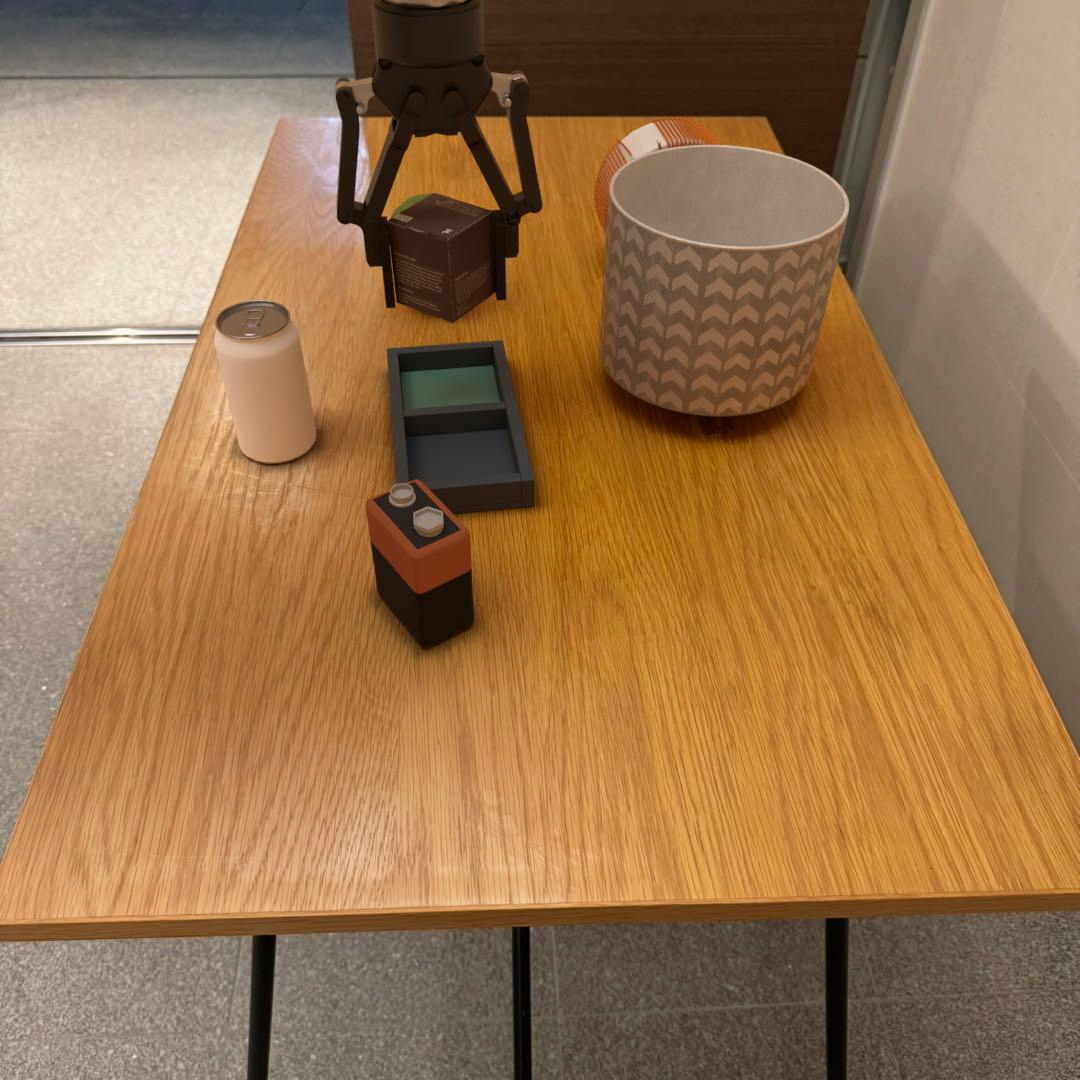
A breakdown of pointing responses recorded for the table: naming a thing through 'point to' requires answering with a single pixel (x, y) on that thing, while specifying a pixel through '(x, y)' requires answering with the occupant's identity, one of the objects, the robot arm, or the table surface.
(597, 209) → the coil
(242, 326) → the can
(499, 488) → the holder
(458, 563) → the battery
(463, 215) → the box
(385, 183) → the robot arm
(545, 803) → the table surface
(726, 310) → the planter
